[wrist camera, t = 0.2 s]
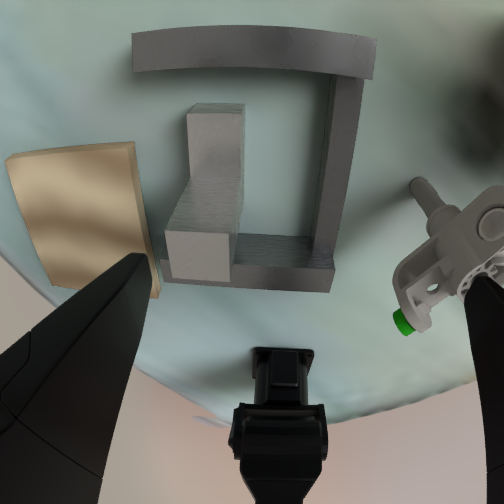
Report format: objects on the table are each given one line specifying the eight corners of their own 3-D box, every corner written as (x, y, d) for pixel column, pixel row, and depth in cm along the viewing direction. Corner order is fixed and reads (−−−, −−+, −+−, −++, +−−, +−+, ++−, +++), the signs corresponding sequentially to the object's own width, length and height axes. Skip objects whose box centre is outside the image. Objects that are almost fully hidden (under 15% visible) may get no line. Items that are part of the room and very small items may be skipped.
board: (161, 289, 29) (157, 298, 28) (57, 277, 29) (52, 285, 28) (134, 141, 20) (127, 148, 19) (12, 154, 20) (4, 160, 19)
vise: (324, 261, 26) (329, 293, 23) (175, 252, 26) (164, 282, 23) (359, 36, 15) (376, 38, 12) (154, 30, 15) (131, 32, 12)
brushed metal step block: (243, 201, 23) (229, 282, 16) (201, 199, 23) (172, 277, 16) (245, 103, 18) (227, 149, 12) (196, 103, 18) (153, 149, 12)
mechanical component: (357, 218, 23) (390, 328, 15) (457, 126, 17) (546, 203, 10) (381, 239, 24) (417, 346, 16) (476, 155, 18) (557, 239, 11)
